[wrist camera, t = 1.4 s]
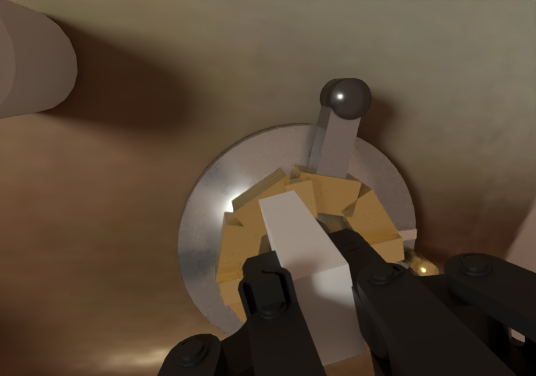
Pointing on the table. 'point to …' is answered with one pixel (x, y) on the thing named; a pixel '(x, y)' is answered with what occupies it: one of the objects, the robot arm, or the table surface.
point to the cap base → (220, 200)
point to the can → (33, 61)
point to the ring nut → (311, 192)
